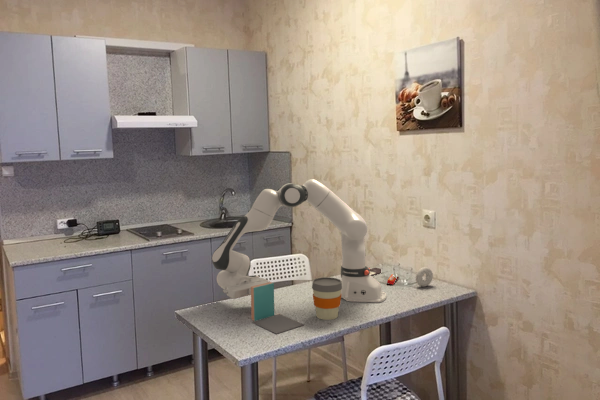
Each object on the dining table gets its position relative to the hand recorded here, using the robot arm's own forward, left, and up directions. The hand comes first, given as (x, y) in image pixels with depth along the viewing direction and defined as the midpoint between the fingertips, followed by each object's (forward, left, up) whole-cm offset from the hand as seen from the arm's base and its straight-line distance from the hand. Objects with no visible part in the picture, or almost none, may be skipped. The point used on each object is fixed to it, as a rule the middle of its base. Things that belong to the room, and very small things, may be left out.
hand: (259, 293), depth 210 cm
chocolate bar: (-31, -81, -11) cm, 87 cm away
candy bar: (-45, -69, -11) cm, 83 cm away
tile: (-2, +1, -10) cm, 10 cm away
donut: (-61, -64, -10) cm, 89 cm away
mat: (-11, +6, -10) cm, 16 cm away
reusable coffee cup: (-27, -9, -10) cm, 30 cm away
